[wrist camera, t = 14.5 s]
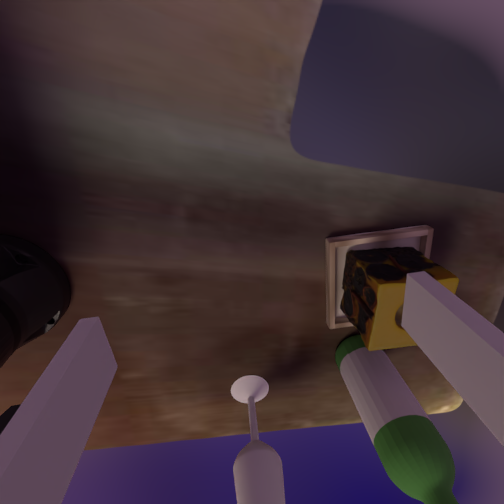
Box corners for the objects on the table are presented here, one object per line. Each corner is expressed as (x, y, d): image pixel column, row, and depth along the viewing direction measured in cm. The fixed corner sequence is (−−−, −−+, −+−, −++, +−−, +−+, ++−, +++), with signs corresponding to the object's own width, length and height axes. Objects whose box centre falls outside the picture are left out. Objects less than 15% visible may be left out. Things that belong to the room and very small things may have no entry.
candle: (338, 308, 48) (365, 353, 39) (344, 249, 44) (375, 284, 35) (401, 303, 49) (442, 346, 40) (413, 244, 45) (461, 277, 36)
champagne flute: (244, 408, 56) (258, 596, 34) (223, 387, 54) (223, 575, 32) (276, 391, 55) (311, 574, 33) (255, 369, 53) (279, 550, 31)
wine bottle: (384, 353, 54) (552, 601, 26) (344, 374, 55) (466, 632, 28) (366, 323, 51) (534, 569, 23) (325, 346, 52) (438, 605, 25)
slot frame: (326, 322, 50) (329, 329, 48) (325, 238, 44) (329, 242, 42) (414, 309, 50) (421, 315, 49) (426, 224, 44) (433, 228, 43)
